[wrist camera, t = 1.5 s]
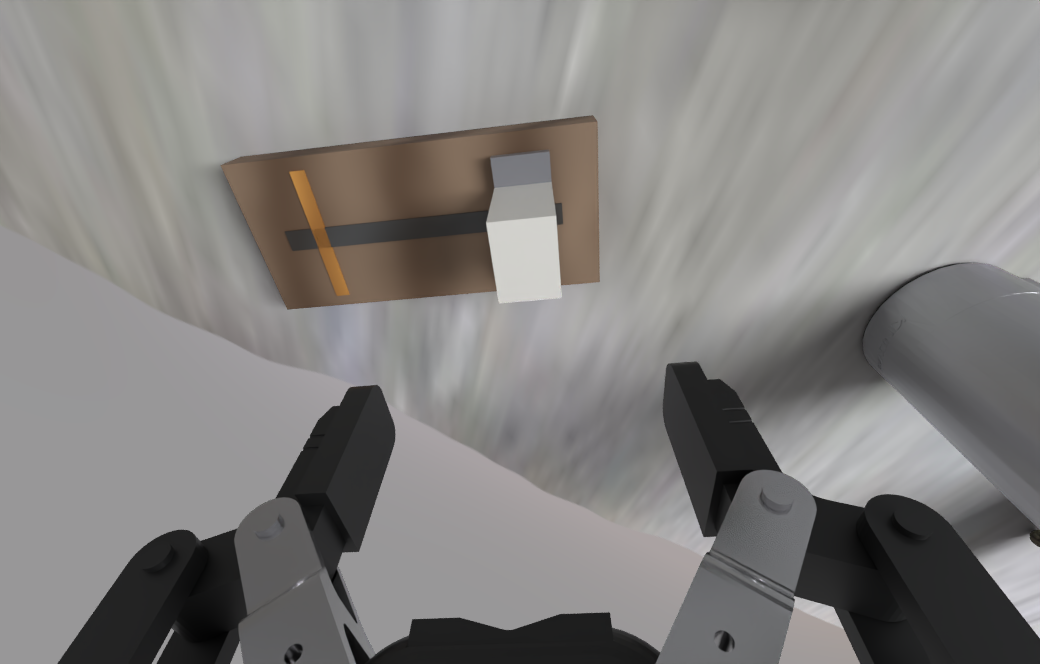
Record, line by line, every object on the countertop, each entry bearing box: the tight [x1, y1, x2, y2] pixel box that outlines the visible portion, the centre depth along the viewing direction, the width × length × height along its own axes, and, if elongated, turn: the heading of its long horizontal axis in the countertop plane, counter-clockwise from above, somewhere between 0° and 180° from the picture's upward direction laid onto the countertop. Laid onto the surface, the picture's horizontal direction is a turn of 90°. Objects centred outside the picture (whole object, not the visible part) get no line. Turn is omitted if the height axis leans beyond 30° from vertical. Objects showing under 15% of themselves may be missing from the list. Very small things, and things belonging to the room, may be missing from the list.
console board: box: [221, 115, 600, 309], centre depth 26 cm, size 20×9×2 cm, turn 96°
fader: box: [486, 150, 562, 303], centre depth 22 cm, size 3×7×6 cm, turn 7°
